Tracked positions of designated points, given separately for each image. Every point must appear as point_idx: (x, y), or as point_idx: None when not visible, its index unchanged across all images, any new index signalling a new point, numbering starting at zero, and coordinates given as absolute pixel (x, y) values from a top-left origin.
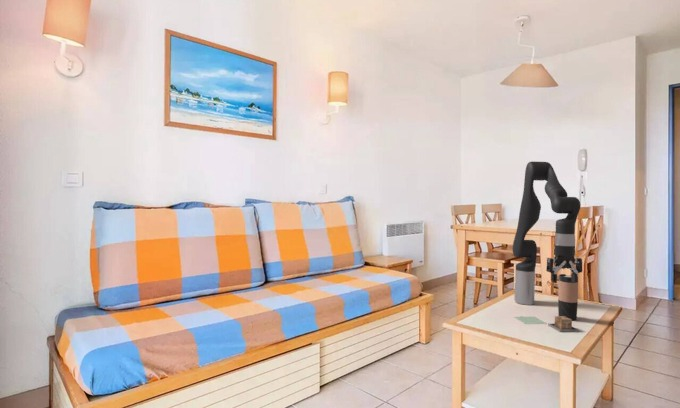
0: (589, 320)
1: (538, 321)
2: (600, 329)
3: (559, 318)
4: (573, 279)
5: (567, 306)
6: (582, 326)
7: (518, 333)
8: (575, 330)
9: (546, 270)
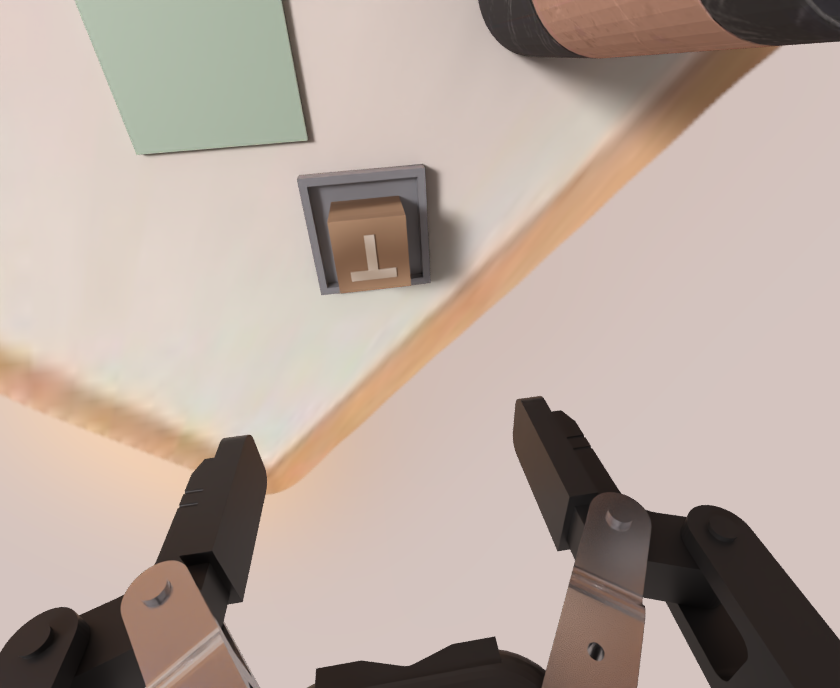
0: None
1: (256, 82)
2: (588, 216)
3: (338, 270)
4: (528, 456)
5: (539, 40)
6: (525, 166)
7: (73, 311)
8: (412, 283)
9: (9, 645)
